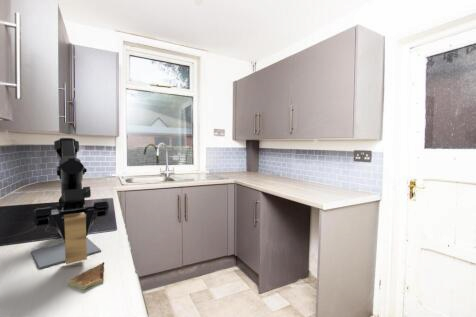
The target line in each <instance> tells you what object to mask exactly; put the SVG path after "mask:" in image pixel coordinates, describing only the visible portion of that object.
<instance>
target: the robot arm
mask: <svg viewBox="0 0 476 317" xmlns="http://www.w3.org/2000/svg"><path fill="white" fill-rule="evenodd" d="M53 147H54V153H56V158H57V160H58V165H56V177H59V180H60V181H61V182H60V192H61V193H60V194H61V196H60V197H59V199H58V205H56V209H52V206H47V207H42V208H41V207H40V208H35V210H33V220H34V221H33V222H34V223H33V224H34V226H35V227H43V226H47V225H48V226H49V227H53V228H55V230H56V231H57V232H58V234H59V235H60V237H61V239H62V241H65V230H64V215H67V214H75V213H82V212H84V214H85V216H86V237H88V234H89V231H90V229H91V228H90V227H91V225H92V223H93V221H94V220H97V218H102V217H106V216H108V213H109V207H110V205H109V201H107V200H99V201H94V202H93V206H86V207H85V205H86V199H87V198H91V196H92V193H91V186H83V185H82V182H83V180H84V179H83V177H84V175H85V173H87V170H88V169H87V168H86V167H85V166H84V164H82V161H81V158H77V157H78V155H77V154H78V152H79V151H80V141H78V140H76V138H73V137H61V138H59V139H57V140H55V141H54V142H53Z"/></svg>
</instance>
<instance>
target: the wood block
mask: <svg viewBox="0 0 476 317" xmlns="http://www.w3.org/2000/svg"><path fill="white" fill-rule="evenodd" d="M64 230H65V240H64V242H65V259H66V262H65V265H69V264H70V265H71V264H73V263H77V262H81V261H86V260H88V258H87V256H88V255H87V248H86V237H87V236H86V214H84V212H82V213H75V214H67V215H64Z"/></svg>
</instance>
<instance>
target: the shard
mask: <svg viewBox="0 0 476 317" xmlns="http://www.w3.org/2000/svg"><path fill="white" fill-rule="evenodd" d="M104 272H105V262H104V261H103V262H102V263H100V264H98V265H96V266H94V267H91V268H90V269H87V270H86V271H84V272H82V273H81V274H78V275H76V276H74V277H73V278H71V279H70V280H68V281H67V285H68V286H71V287H74V288H78V289H79V290H82V291H83V290H86V289H88V288H90V287H92V286H96V285H99V284H102V283H104V281H105V279H104V278H105V276H104V275H105V273H104Z"/></svg>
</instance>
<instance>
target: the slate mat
mask: <svg viewBox="0 0 476 317" xmlns="http://www.w3.org/2000/svg"><path fill="white" fill-rule="evenodd" d="M86 248H87V256H89V255H93V254H96V253H97V254H98V253H101V252H102V249H101V248H99V246H97V245H96V244H95V243H94V242H92V241H91V239H89V237H88V236H86ZM30 252H31V254H32V257H33V258H34V260H35V262H36V264H37V267H38V269H39V270H42V269H45V268H48V267H51V266H52V267H53V266H54V265H55V266H56V265H58V264H61V263H66V259H65V241H63V242H61V243H57V244H52V245H48V246H44V247H40V248H37V249H36V248H35V249H32V250H31V251H30Z"/></svg>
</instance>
